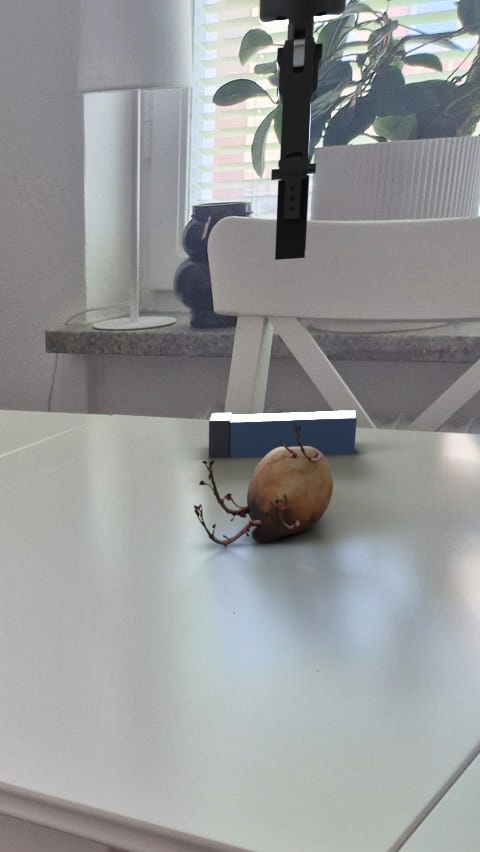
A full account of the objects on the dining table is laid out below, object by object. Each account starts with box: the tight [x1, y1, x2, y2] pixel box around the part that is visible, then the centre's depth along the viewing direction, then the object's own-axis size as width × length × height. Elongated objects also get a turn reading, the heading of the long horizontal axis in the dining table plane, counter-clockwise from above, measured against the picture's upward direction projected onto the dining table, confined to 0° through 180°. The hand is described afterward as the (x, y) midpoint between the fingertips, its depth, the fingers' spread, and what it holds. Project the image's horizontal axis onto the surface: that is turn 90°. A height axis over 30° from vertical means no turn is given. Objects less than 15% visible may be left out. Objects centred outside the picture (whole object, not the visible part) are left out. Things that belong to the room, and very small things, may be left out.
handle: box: [208, 410, 358, 459], centre depth 115 cm, size 14×4×4 cm, turn 77°
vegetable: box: [193, 425, 334, 548], centre depth 93 cm, size 16×11×10 cm
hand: (290, 254), depth 113 cm, fingers open, 9 cm apart
